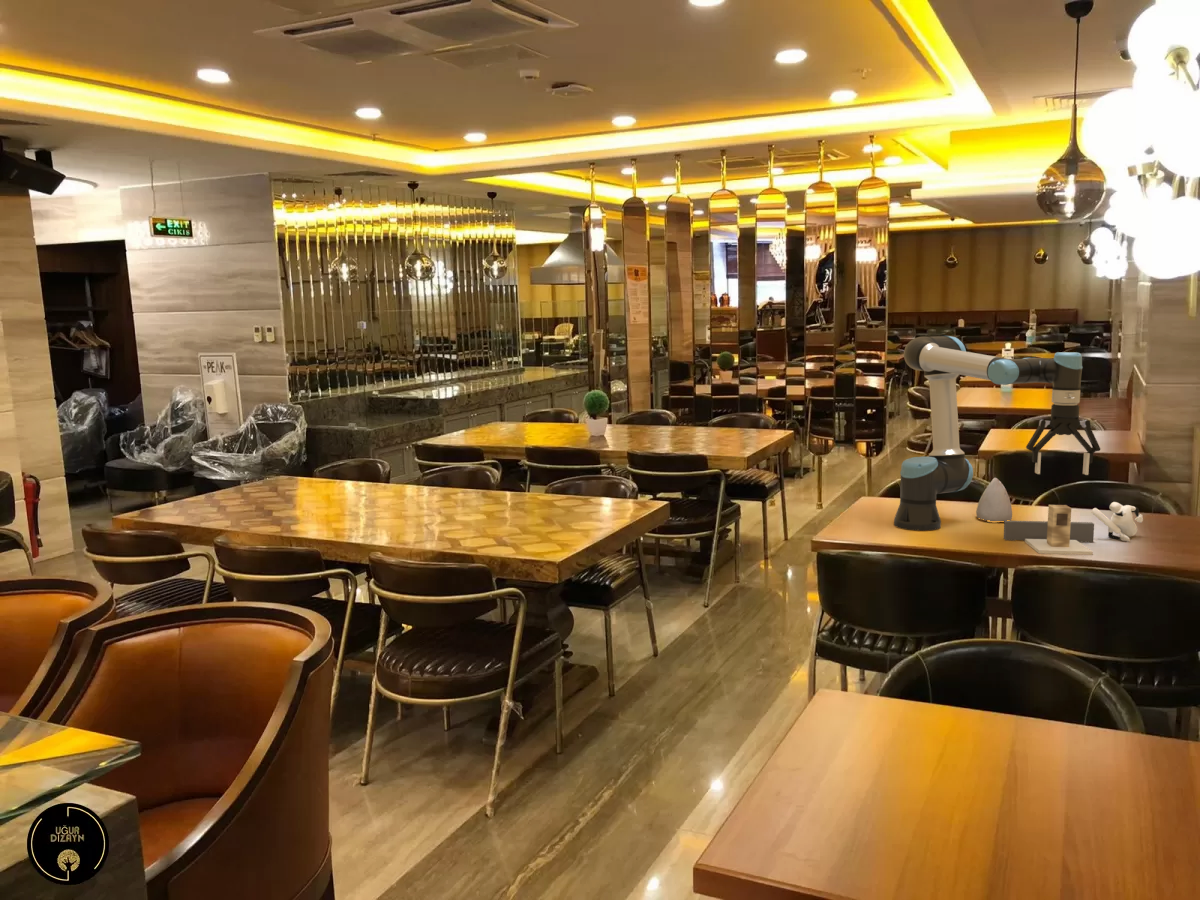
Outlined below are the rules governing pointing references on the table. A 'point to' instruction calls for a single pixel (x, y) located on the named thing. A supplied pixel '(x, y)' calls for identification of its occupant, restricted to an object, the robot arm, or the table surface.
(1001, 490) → the sculpture
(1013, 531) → the grey plank
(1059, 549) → the mat
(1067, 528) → the letter block
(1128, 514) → the cricket player figurine
